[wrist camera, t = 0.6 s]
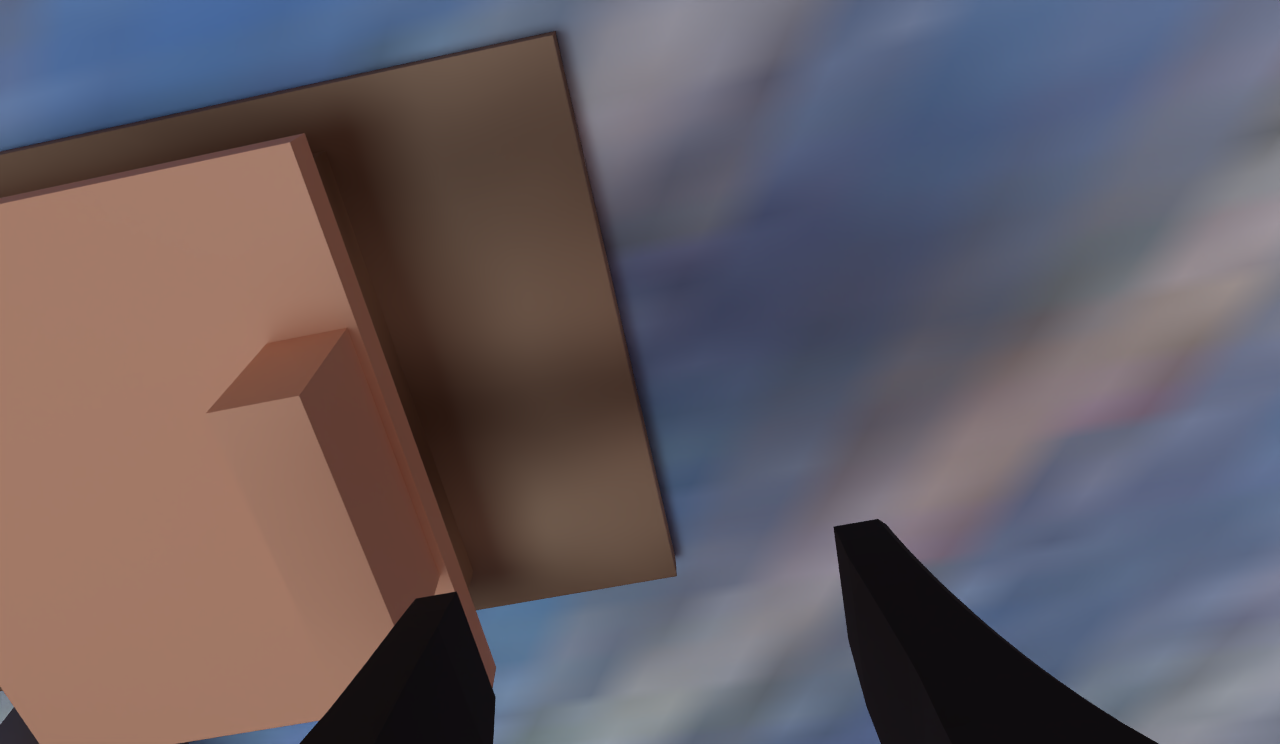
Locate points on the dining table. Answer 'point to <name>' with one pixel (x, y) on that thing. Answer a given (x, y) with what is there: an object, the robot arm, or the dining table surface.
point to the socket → (463, 297)
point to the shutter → (198, 456)
